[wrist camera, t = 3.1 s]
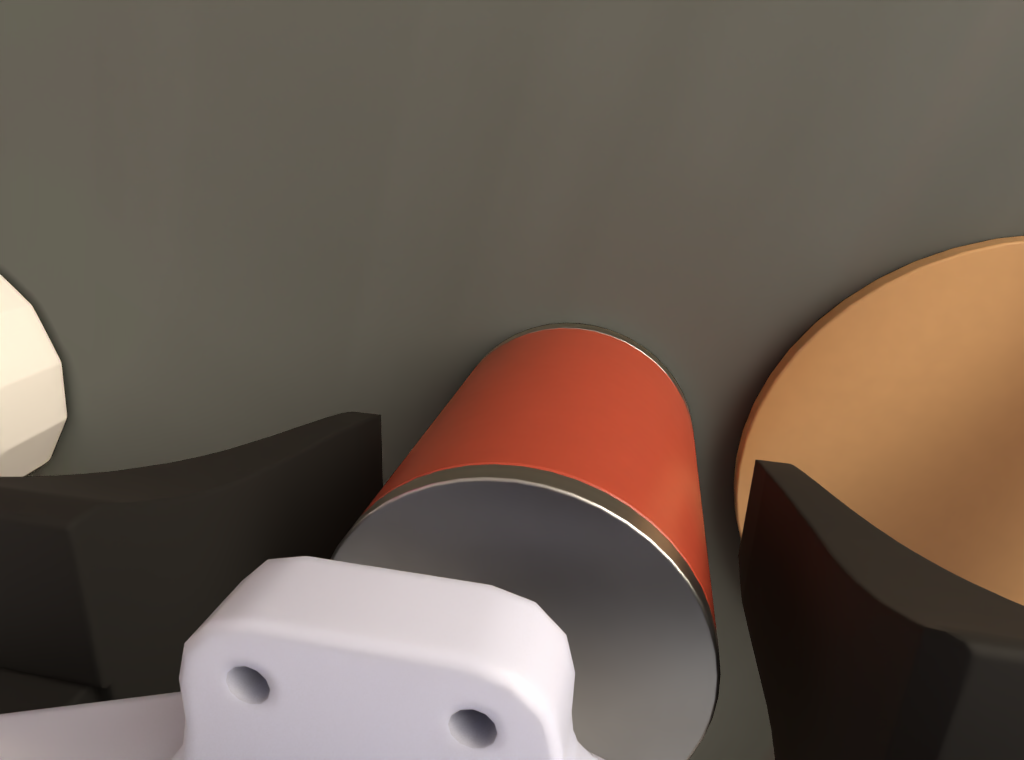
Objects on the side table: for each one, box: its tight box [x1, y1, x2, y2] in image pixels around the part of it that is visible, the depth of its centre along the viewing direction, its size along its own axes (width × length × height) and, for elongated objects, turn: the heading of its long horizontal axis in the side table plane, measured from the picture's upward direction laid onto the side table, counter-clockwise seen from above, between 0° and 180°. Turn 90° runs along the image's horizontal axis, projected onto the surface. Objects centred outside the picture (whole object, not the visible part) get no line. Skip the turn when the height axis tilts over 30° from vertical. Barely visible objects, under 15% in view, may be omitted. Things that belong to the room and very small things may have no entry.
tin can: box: [330, 323, 720, 760], centre depth 12 cm, size 5×5×7 cm
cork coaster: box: [734, 236, 1024, 605], centre depth 14 cm, size 10×10×1 cm
